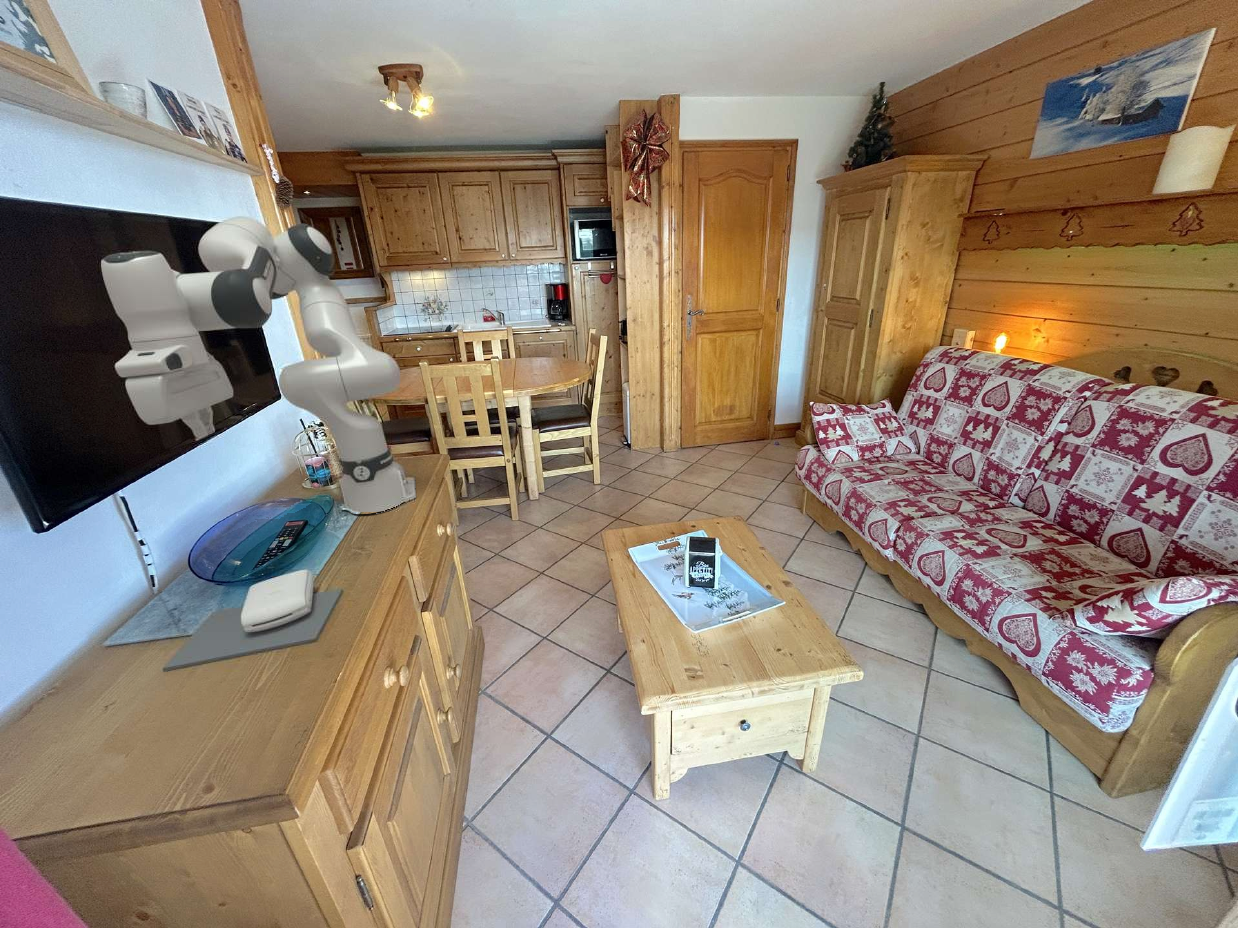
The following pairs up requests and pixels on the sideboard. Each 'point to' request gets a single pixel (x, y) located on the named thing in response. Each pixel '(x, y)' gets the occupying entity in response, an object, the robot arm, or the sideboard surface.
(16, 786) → the sideboard surface
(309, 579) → the photo printer
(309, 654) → the sideboard surface
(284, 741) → the sideboard surface
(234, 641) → the mat
